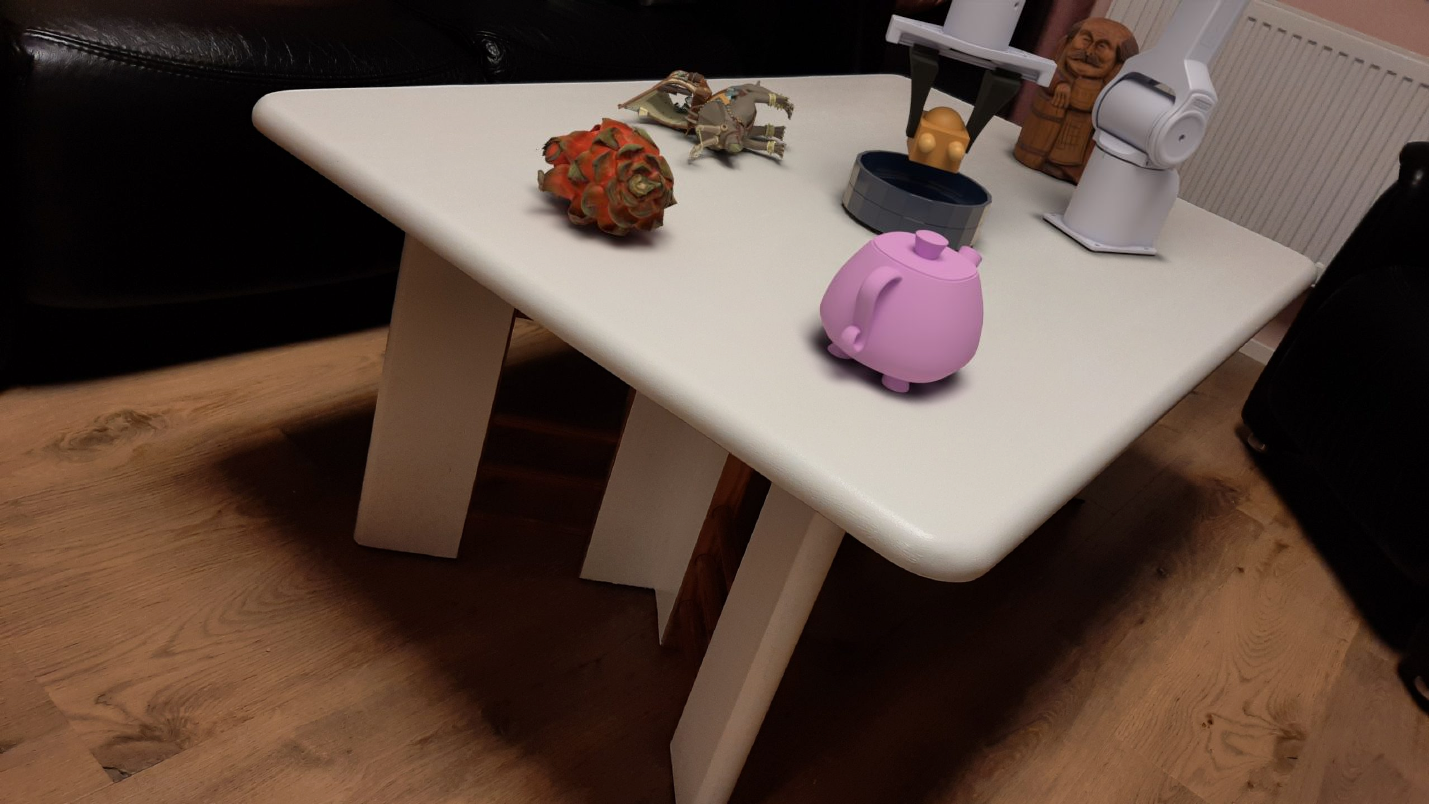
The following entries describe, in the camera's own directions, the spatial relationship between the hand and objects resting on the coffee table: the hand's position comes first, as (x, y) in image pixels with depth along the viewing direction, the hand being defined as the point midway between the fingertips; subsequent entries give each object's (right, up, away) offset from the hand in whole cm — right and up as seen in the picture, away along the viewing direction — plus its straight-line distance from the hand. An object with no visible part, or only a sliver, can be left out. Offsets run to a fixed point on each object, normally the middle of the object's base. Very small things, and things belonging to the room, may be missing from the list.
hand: (936, 142), depth 93 cm
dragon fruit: (-29, -10, -15) cm, 34 cm away
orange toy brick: (0, -1, +1) cm, 1 cm away
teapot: (-8, -20, -22) cm, 31 cm away
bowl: (-2, -7, +4) cm, 8 cm away
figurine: (-21, +3, +10) cm, 24 cm away
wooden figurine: (+21, +5, +34) cm, 41 cm away
